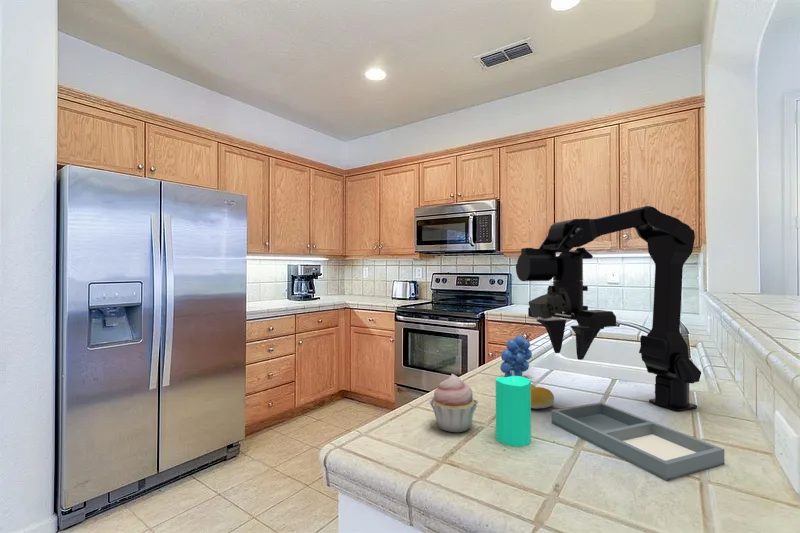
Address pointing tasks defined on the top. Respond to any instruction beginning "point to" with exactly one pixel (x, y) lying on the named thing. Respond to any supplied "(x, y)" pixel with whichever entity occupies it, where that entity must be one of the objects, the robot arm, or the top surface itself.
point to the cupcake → (453, 405)
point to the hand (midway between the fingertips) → (568, 356)
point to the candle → (513, 410)
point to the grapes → (516, 357)
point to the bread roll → (541, 397)
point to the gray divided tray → (639, 440)
